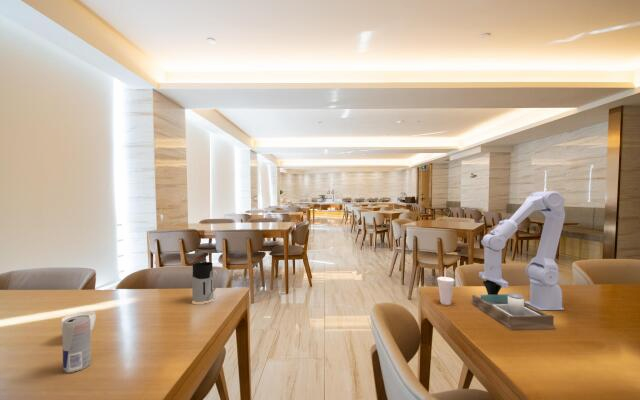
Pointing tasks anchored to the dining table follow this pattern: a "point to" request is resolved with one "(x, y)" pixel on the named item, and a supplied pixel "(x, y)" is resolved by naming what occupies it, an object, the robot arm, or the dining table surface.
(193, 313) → the dining table surface
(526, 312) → the tray
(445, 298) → the smoothie
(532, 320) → the dock
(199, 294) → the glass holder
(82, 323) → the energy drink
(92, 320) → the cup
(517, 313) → the disc stack
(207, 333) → the dining table surface
